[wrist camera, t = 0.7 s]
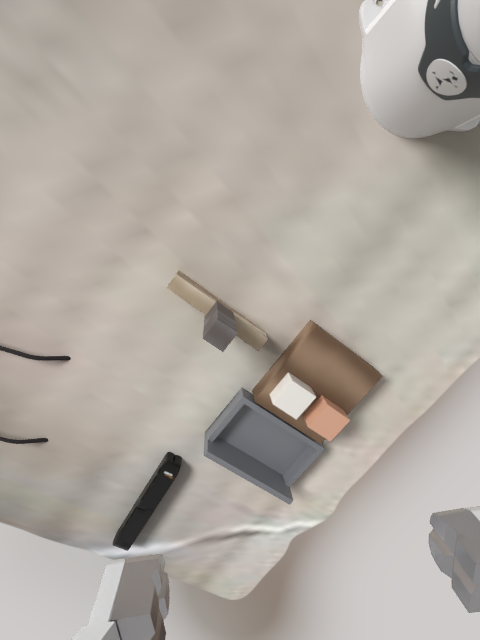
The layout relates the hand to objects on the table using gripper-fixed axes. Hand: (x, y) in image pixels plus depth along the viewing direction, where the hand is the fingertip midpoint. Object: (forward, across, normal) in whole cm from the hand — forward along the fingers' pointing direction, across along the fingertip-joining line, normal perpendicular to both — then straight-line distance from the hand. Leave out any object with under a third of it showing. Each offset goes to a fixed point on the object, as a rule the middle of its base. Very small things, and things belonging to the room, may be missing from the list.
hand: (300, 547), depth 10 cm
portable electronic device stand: (+36, +16, +30) cm, 50 cm away
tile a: (+32, -6, +13) cm, 35 cm away
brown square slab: (+35, -10, +13) cm, 39 cm away
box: (+35, -2, +22) cm, 42 cm away
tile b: (+32, -11, +17) cm, 38 cm away
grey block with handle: (+36, +2, +1) cm, 36 cm away
